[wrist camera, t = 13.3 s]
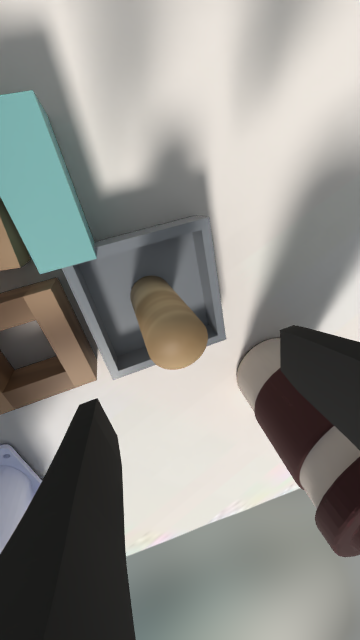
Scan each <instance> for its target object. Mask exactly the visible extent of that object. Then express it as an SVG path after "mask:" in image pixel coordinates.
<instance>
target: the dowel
mask: <svg viewBox="0 0 360 640" xmlns="http://www.w3.org/2000/svg"><path fill="white" fill-rule="evenodd" d="M130 299H131V303H132V306H133V309H134V312H135V315H136V318H137V321H138V324H139V327H140V330H141V333H142V336H143V339H144V342H145V345H146V348H147V351H148V354H149V357H150V358H151V360H152V361H153V362H154V363H155V364H156V365H158V366H159V367H161V368H164V369H170V370H175V369H181V368H184V367H187V366H189V365H191V364H192V363H194V362H195V361H196V360H197V359H198V358H199V357H200V356H201V355H202V354H203V352H204V350H205V348H206V346H207V342H208V333H207V329H206V327H205V325H204V324H203V323H202V321H201V320H200V319H199V318H198V317H197V316H196V315H195V314H194V312H193V311H192V310H191V309H190V308H189V307H188V306H187V305H186V303H185V302H184V301H183V300H182V299H181V298H180V297H179V296H178V294H177V293H176V292H175V291H174V290H173V289H172V288H171V287H170V285H169V284H168V283H167V282H166V281H165V280H164V279H162V278H161V277H158V276H145V277H143V278H141V279H139V280H138V281H137V282H136V283H135V284H134V285H133V287H132V289H131V293H130Z"/></svg>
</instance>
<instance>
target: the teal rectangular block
mask: <svg viewBox="0 0 360 640" xmlns="http://www.w3.org/2000/svg"><path fill="white" fill-rule="evenodd" d="M0 197H1V199H2V201H3V203H4V205H5V207H6V209H7V211H8V213H9V215H10V217H11V219H12V220H13V222H14V224H15V226H16V228H17V230H18V232H19V234H20V236H21V238H22V240H23V242H24V244H25V246H26V248H27V250H28V252H29V254H30V256H31V258H32V260H33V261H34V263H35V265H36V267H37V269H38V271H39V273H40V274H43V273H46V272H50V271H54V270H57V269H61V268H65V267H68V266H72V265H75V264H79V263H83V262H86V261H90V260H94V259H97V256H96V254H95V251H94V240H93V237H92V234H91V232H90V229H89V226H88V224H87V221H86V218H85V216H84V213H83V210H82V208H81V205H80V202H79V200H78V197H77V194H76V192H75V189H74V186H73V183H72V181H71V178H70V175H69V173H68V170H67V167H66V165H65V162H64V159H63V157H62V154H61V151H60V149H59V146H58V143H57V140H56V138H55V135H54V132H53V130H52V127H51V124H50V122H49V119H48V116H47V114H46V112H45V110H44V109H43V107H42V105H41V104H40V102H39V100H38V98H37V97H36V95H35V93H34V92H33V90H30V91H24V92H17V93H11V94H4V95H0Z"/></svg>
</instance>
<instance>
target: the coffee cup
mask: <svg viewBox="0 0 360 640" xmlns="http://www.w3.org/2000/svg"><path fill="white" fill-rule="evenodd" d="M237 383H238V387H239V389H240V391H241V392H242V394H243V395H244V397H245V398H246V400H247V401H248V403H249V405H250V406H251V408H252V409H253V411H254V412H255V417H256V419H257V421H258V423H259V425H260V426H261V428H262V429H263V431H264V432H265V434H266V436H267V437H268V439H269V440H270V442H271V444H272V445H273V447H274V448H275V450H276V452H277V453H278V455H279V456H280V458H281V459H282V461H283V463H284V464H285V466H286V467H287V469H288V471H289V472H290V474H291V475H292V477H293V479H294V480H295V482H296V483H297V484H298V486H299V487H300V488H301V489H303V490H305V491H306V493H307V494H308V496H309V497H310V499H311V501H312V502H313V504H314V505H315V507H316V508H317V511H316V515H315V521H316V525H317V527H318V529H319V530H320V532H321V533H322V535H323V536H324V537H325V539H326V540H327V542H328V543H329V545H330V546H331V548H332V549H333V551H334V552H335V553H336V554H337V555H339V556H342V557H351V556H356V555H360V451H359V450H358V449H357V447H356V446H355V445H354V444H353V443H352V442H351V441H350V440H349V439H348V438H347V437H346V436H344V435H343V434H342V433H341V432H340V431H339V430H338V429H337V428H336V427H335V426H334V425H333V424H332V423H331V422H330V421H329V420H327V419H326V418H325V417H324V416H323V415H322V414H321V413H320V412H319V411H318V410H317V409H316V408H315V407H314V406H313V405H312V404H311V403H310V402H308V401H307V400H306V399H305V398H304V397H303V396H302V395H301V394H300V393H299V392H298V391H297V390H296V389H295V387H294V386H293V385H292V384H291V383H290V382H289V380H288V379H287V378H286V376H285V375H284V374H283V373H282V371H281V370H280V338H273V339H269V340H266V341H263V342H261V343H259V344H258V345H256V346H255V347H254V348H252V349H251V350H250V351H249V352H248V353H247V354H246V355H245V357H244V358H243V360H242V361H241V363H240V365H239V368H238V371H237Z"/></svg>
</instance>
